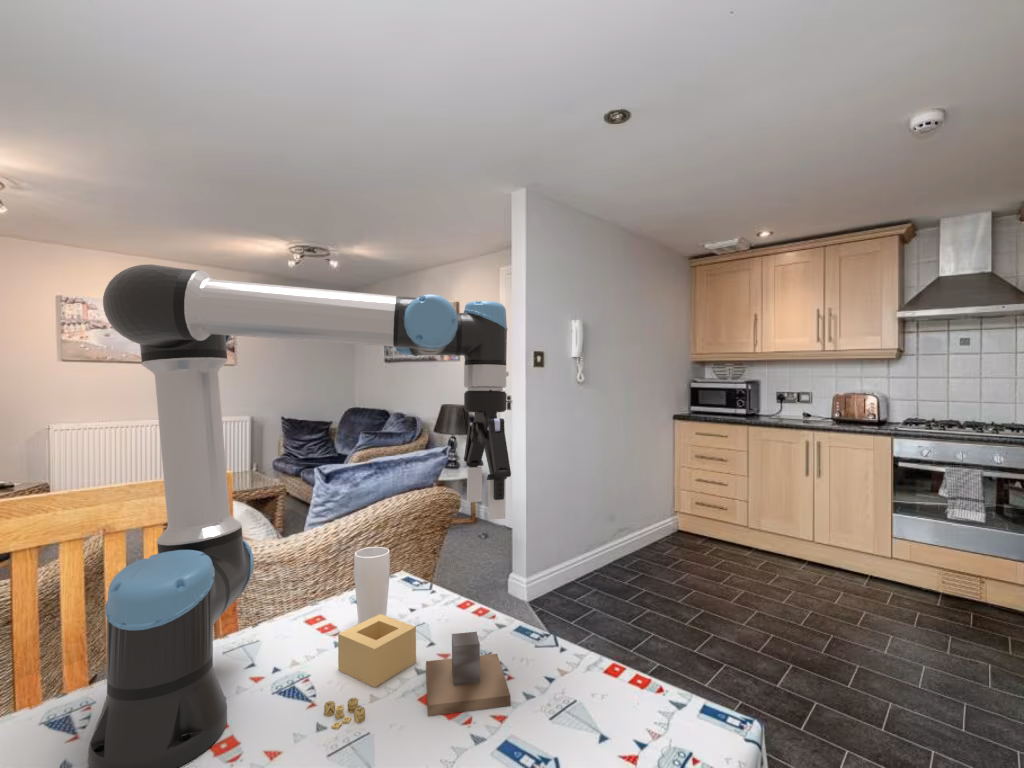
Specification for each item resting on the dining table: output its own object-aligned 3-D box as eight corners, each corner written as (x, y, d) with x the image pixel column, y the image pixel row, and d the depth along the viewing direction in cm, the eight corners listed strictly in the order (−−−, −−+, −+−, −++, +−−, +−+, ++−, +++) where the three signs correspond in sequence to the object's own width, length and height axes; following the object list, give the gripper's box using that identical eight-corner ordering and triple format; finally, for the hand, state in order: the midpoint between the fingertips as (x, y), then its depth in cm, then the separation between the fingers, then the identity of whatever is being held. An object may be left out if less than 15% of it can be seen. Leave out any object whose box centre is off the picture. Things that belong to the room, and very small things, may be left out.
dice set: (323, 715, 73) (323, 702, 73) (359, 706, 75) (359, 693, 75) (327, 737, 69) (327, 722, 69) (366, 726, 71) (366, 712, 71)
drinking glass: (351, 625, 100) (351, 549, 100) (385, 618, 103) (385, 544, 103) (357, 640, 94) (357, 559, 94) (393, 632, 97) (393, 554, 97)
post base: (427, 715, 72) (427, 663, 72) (426, 670, 84) (425, 624, 84) (510, 705, 74) (510, 654, 74) (497, 662, 86) (497, 618, 86)
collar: (374, 687, 79) (374, 649, 79) (338, 670, 84) (338, 633, 84) (415, 661, 86) (415, 626, 87) (380, 647, 91) (380, 613, 92)
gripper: (531, 389, 79) (530, 525, 79) (485, 389, 103) (484, 494, 102) (485, 389, 77) (484, 529, 76) (449, 389, 100) (448, 496, 100)
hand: (484, 509), depth 89 cm, fingers open, 13 cm apart
